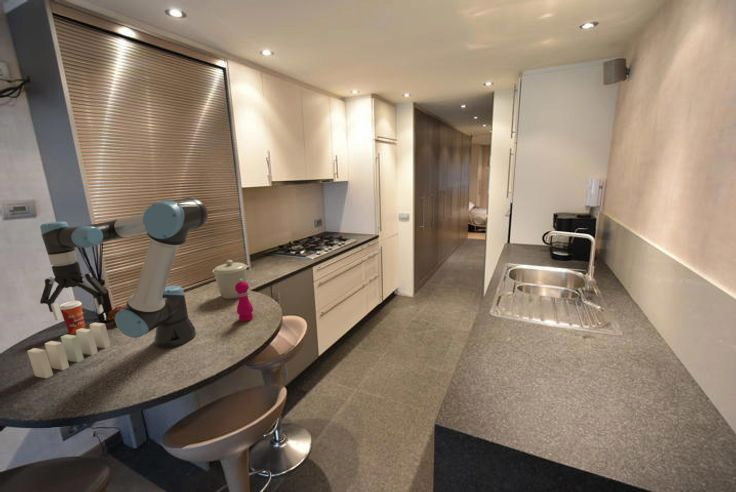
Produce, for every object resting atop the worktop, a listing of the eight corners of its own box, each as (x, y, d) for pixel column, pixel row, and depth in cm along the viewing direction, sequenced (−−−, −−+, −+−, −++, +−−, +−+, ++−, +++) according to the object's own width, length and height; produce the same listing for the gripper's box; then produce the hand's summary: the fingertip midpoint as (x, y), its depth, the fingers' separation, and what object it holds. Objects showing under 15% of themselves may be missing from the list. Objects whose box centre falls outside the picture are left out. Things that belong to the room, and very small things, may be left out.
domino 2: (69, 366, 120) (62, 342, 118) (63, 370, 118) (55, 345, 116) (58, 364, 122) (51, 340, 120) (51, 367, 120) (44, 343, 118)
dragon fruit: (127, 328, 153) (114, 326, 159) (139, 312, 158) (127, 311, 164) (110, 319, 147) (98, 318, 153) (124, 303, 152) (111, 302, 158)
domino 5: (110, 345, 134) (105, 323, 132) (105, 348, 132) (99, 326, 130) (100, 344, 136) (94, 322, 133) (95, 346, 134) (89, 324, 131)
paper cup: (75, 336, 143) (67, 307, 140) (61, 335, 145) (53, 306, 142) (93, 328, 151) (85, 300, 147) (80, 327, 152) (72, 299, 149)
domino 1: (53, 374, 115) (46, 349, 113) (46, 378, 113) (38, 353, 111) (42, 372, 117) (34, 347, 115) (35, 376, 115) (27, 351, 113)
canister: (243, 301, 175) (238, 264, 170) (210, 302, 175) (204, 265, 170) (255, 289, 192) (251, 255, 187) (225, 290, 193) (220, 256, 188)
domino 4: (98, 352, 129) (92, 329, 127) (92, 355, 127) (86, 332, 125) (87, 350, 131) (81, 327, 129) (81, 353, 129) (75, 330, 127)
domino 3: (84, 359, 125) (77, 335, 122) (78, 362, 123) (71, 338, 120) (73, 357, 126) (67, 334, 124) (67, 360, 124) (60, 336, 122)
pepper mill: (234, 320, 152) (228, 280, 147) (245, 314, 158) (240, 275, 154) (246, 322, 149) (241, 282, 145) (257, 316, 156) (252, 276, 151)
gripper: (108, 256, 127) (121, 306, 132) (30, 265, 120) (47, 317, 125) (99, 261, 120) (113, 313, 125) (15, 270, 113) (33, 326, 118)
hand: (80, 315), depth 125 cm, fingers open, 13 cm apart
